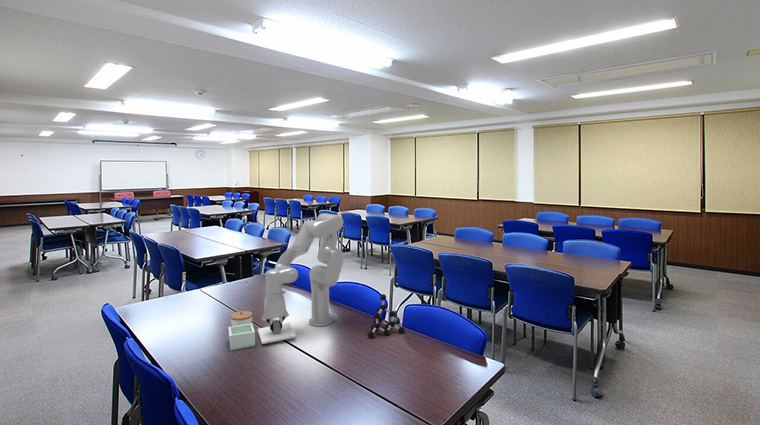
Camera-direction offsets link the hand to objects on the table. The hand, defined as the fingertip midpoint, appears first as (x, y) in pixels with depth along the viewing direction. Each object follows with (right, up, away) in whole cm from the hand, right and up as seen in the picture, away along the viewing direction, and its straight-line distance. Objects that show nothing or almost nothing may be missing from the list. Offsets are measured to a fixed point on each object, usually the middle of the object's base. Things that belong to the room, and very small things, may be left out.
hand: (276, 330), depth 185 cm
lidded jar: (-21, -3, +10) cm, 23 cm away
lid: (0, -2, 0) cm, 2 cm away
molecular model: (+52, -4, +7) cm, 52 cm away
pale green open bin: (-15, -4, -7) cm, 17 cm away
